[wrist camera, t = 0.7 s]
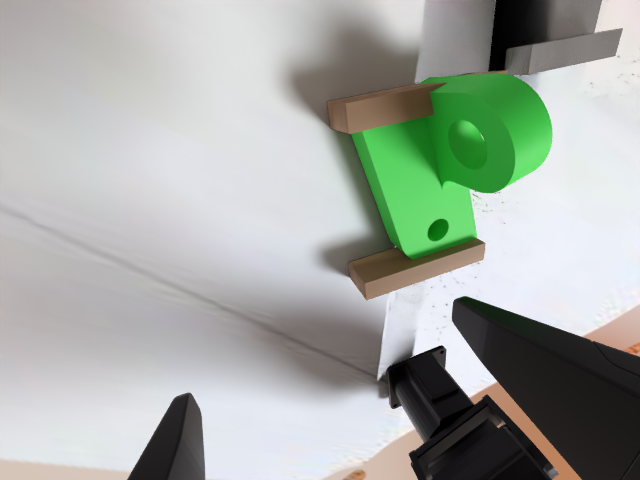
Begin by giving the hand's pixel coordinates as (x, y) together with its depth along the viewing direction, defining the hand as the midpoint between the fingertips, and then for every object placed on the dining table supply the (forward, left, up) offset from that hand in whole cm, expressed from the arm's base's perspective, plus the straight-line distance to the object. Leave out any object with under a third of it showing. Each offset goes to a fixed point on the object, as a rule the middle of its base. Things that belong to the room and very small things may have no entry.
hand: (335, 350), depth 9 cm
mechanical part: (0, -10, -12) cm, 16 cm away
